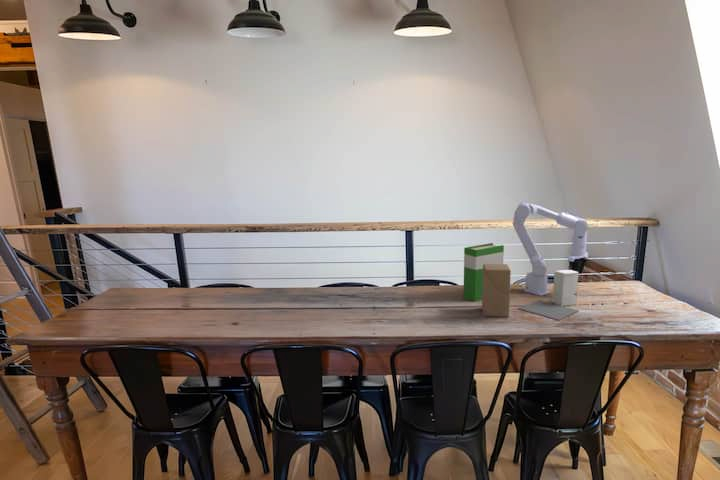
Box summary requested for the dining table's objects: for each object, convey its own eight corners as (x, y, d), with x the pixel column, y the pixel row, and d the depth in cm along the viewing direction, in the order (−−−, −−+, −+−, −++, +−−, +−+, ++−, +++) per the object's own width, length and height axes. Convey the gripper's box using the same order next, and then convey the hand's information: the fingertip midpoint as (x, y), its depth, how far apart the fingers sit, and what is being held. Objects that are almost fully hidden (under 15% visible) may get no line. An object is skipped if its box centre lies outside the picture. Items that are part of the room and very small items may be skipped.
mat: (518, 309, 187) (518, 308, 186) (539, 300, 196) (539, 300, 196) (558, 320, 172) (558, 319, 172) (578, 311, 182) (579, 310, 182)
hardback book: (490, 290, 212) (491, 243, 208) (502, 294, 206) (503, 245, 202) (463, 297, 204) (464, 247, 199) (474, 301, 197) (476, 250, 193)
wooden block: (509, 317, 177) (510, 270, 174) (483, 316, 179) (485, 269, 176) (505, 308, 187) (507, 264, 183) (481, 308, 189) (483, 263, 185)
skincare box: (561, 306, 188) (563, 273, 185) (551, 302, 193) (553, 270, 191) (577, 304, 190) (579, 271, 187) (566, 300, 196) (568, 268, 193)
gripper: (580, 249, 190) (578, 278, 192) (596, 244, 198) (593, 273, 201) (564, 246, 195) (562, 275, 198) (580, 242, 204) (578, 270, 206)
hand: (577, 274), depth 200 cm, fingers open, 3 cm apart
